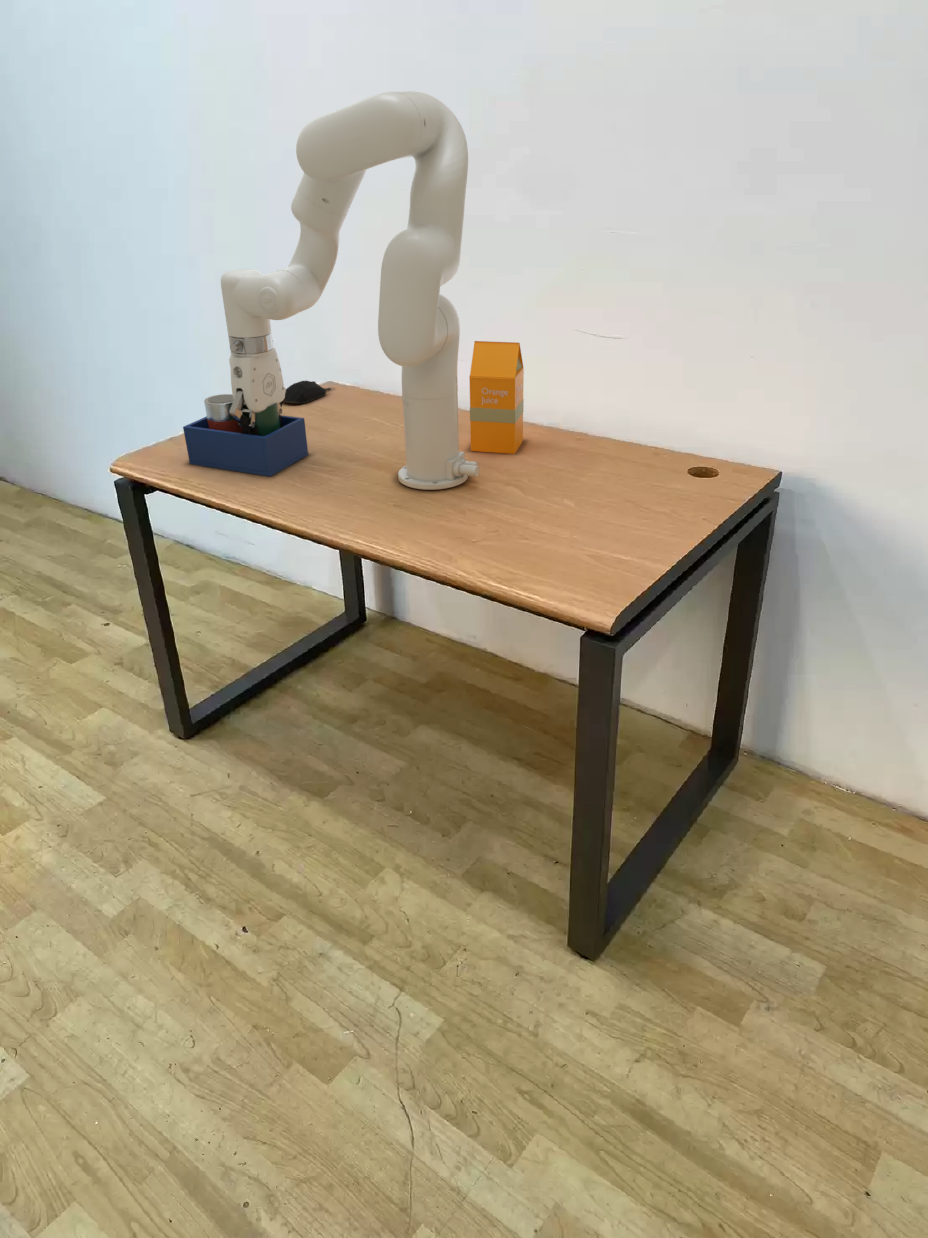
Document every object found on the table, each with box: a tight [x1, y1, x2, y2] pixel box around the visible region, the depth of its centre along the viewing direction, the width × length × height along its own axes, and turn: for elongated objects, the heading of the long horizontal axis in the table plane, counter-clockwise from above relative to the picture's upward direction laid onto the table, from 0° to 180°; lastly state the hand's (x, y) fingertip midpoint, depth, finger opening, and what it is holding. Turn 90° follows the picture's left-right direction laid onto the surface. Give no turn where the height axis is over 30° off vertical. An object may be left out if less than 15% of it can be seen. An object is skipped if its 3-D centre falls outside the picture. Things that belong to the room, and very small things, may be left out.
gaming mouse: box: [283, 379, 331, 405], centre depth 208 cm, size 6×15×4 cm, turn 146°
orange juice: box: [469, 340, 525, 455], centre depth 171 cm, size 8×9×20 cm
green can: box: [244, 403, 280, 436], centre depth 168 cm, size 7×7×11 cm
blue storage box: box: [182, 414, 309, 478], centre depth 171 cm, size 19×13×7 cm
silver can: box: [203, 393, 243, 434], centre depth 172 cm, size 7×7×11 cm
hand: (264, 440), depth 169 cm, fingers closed on green can, 6 cm apart
